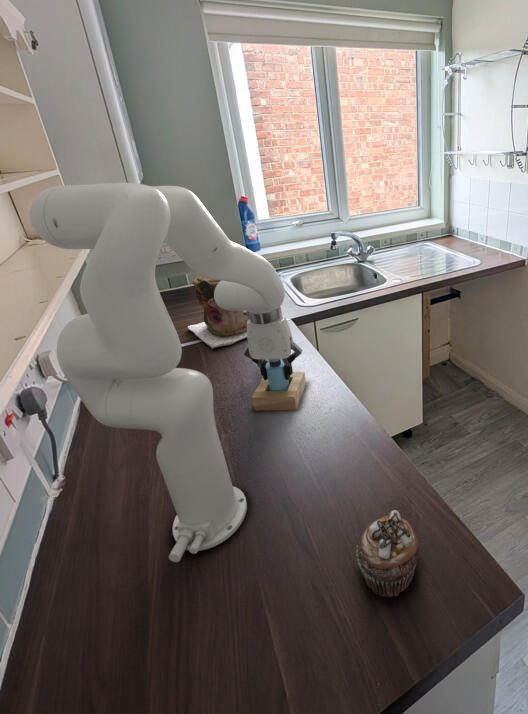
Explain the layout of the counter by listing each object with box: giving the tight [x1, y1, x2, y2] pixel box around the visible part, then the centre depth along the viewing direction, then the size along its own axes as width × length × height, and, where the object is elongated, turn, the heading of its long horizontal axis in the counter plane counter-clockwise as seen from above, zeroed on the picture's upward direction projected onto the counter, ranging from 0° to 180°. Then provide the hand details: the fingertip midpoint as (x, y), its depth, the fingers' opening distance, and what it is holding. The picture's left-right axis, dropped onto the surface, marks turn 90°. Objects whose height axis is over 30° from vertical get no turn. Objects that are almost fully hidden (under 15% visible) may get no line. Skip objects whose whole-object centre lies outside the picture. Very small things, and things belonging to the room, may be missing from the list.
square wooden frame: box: [251, 371, 307, 412], centre depth 105 cm, size 11×11×4 cm
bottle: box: [265, 359, 290, 391], centre depth 104 cm, size 5×5×12 cm
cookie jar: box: [187, 273, 249, 350], centre depth 138 cm, size 25×25×32 cm
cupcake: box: [355, 509, 420, 598], centre depth 61 cm, size 10×10×10 cm
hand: (277, 376), depth 103 cm, fingers closed on bottle, 5 cm apart
